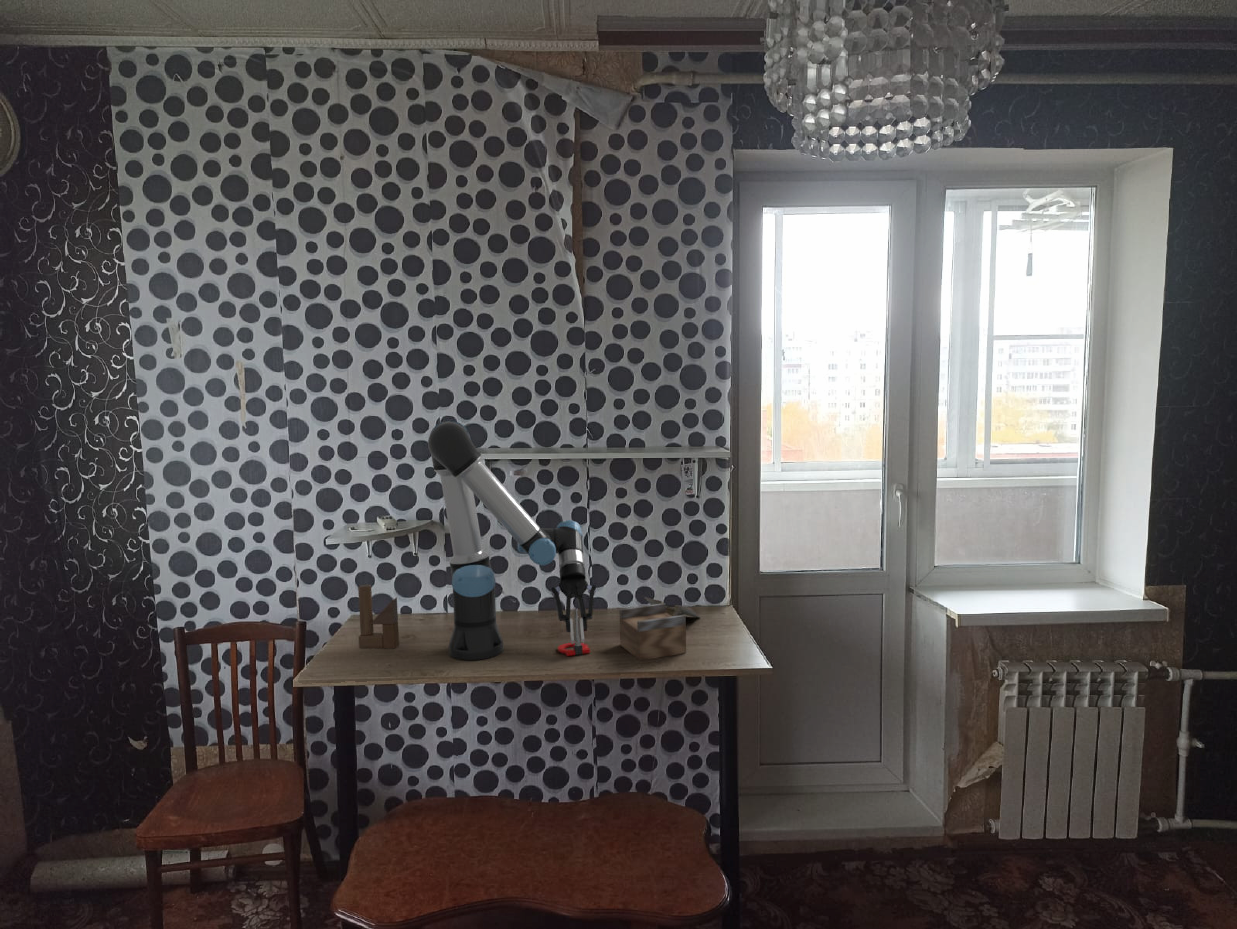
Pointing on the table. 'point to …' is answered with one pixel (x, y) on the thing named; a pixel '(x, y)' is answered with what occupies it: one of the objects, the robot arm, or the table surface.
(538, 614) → the table surface
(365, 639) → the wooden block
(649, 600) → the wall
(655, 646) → the open wooden crate
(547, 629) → the table surface
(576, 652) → the tow hook
